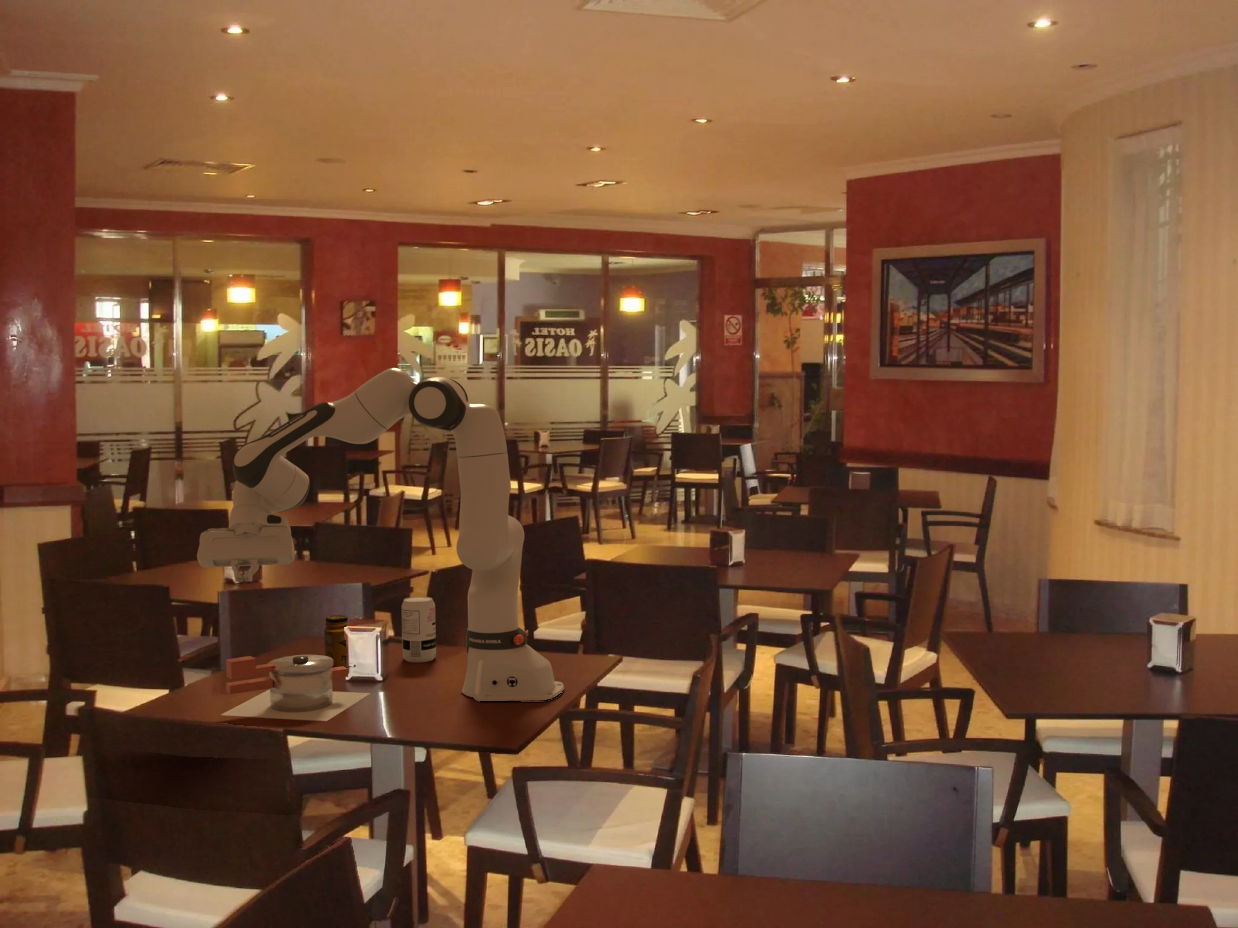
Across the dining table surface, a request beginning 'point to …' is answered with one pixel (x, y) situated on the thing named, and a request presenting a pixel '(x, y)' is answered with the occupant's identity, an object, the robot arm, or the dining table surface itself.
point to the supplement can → (418, 629)
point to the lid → (277, 665)
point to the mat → (262, 709)
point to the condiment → (336, 639)
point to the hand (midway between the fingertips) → (243, 580)
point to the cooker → (294, 689)
